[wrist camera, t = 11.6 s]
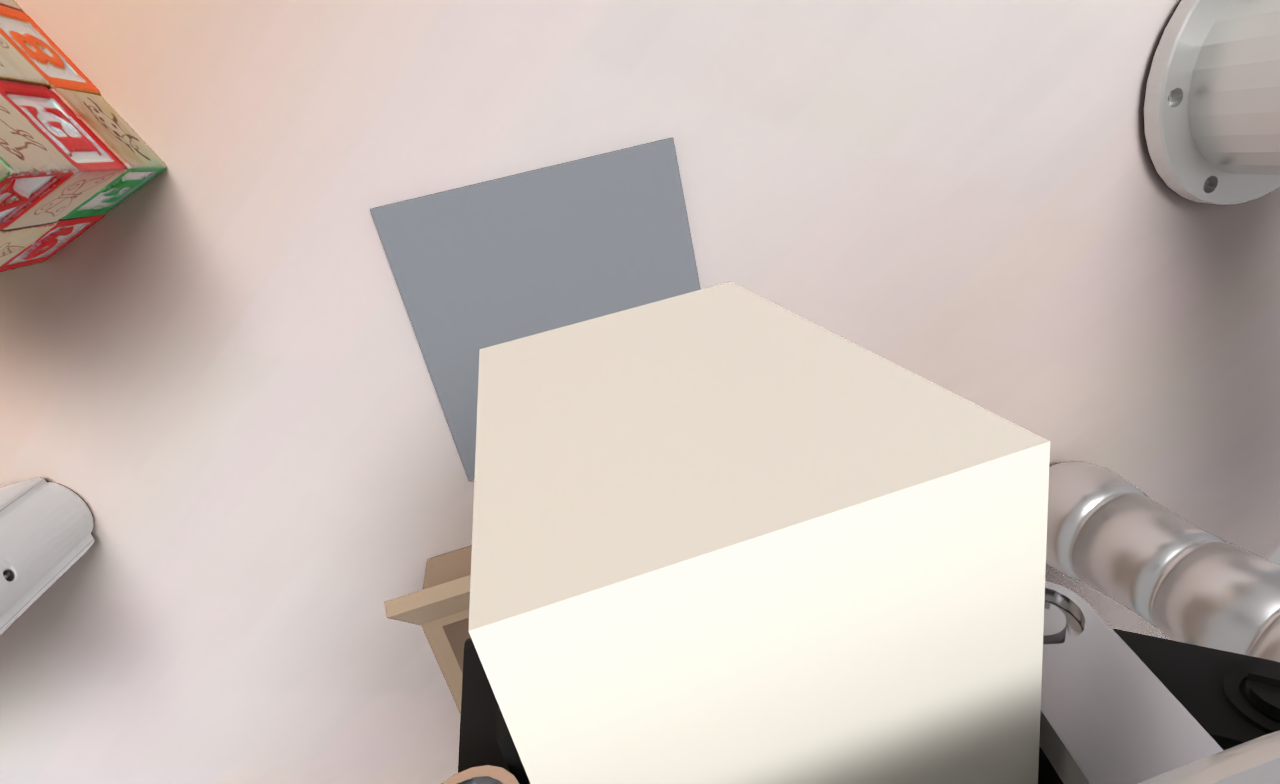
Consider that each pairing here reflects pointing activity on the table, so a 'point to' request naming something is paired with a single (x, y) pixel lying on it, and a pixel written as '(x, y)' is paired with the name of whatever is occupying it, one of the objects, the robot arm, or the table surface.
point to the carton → (442, 612)
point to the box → (752, 557)
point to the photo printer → (38, 541)
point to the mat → (534, 260)
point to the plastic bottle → (1160, 563)
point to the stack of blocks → (56, 147)
